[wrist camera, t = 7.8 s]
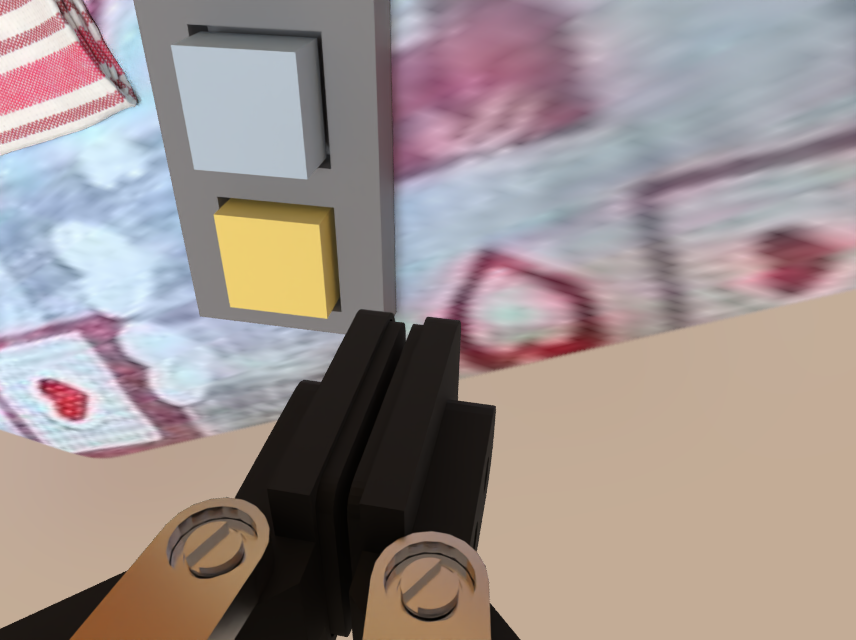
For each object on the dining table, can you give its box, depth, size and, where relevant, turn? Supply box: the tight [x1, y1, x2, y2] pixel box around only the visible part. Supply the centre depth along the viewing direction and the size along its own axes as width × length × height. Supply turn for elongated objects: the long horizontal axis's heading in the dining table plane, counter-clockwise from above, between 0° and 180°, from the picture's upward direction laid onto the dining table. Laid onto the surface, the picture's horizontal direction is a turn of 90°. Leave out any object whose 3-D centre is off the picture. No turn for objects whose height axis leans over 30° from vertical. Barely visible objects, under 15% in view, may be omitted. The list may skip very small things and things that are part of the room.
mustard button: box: [214, 198, 340, 319], centre depth 40 cm, size 6×6×3 cm
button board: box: [133, 0, 396, 334], centre depth 36 cm, size 12×28×3 cm, turn 179°
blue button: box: [171, 31, 326, 179], centre depth 34 cm, size 6×6×3 cm
